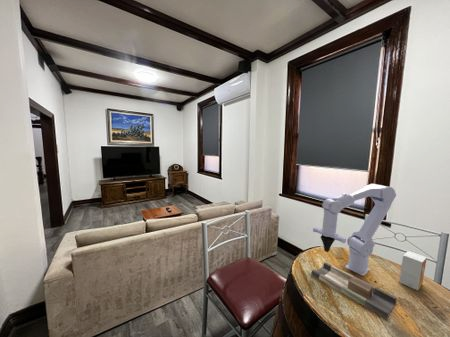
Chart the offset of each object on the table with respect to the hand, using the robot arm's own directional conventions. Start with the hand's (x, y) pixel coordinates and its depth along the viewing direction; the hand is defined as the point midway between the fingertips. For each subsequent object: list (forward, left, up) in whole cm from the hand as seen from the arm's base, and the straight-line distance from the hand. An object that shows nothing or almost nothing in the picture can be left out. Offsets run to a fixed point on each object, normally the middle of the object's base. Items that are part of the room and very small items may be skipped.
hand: (326, 250), depth 90 cm
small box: (-24, +27, -10) cm, 37 cm away
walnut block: (+5, +16, -9) cm, 19 cm away
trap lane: (+5, +13, -9) cm, 16 cm away
